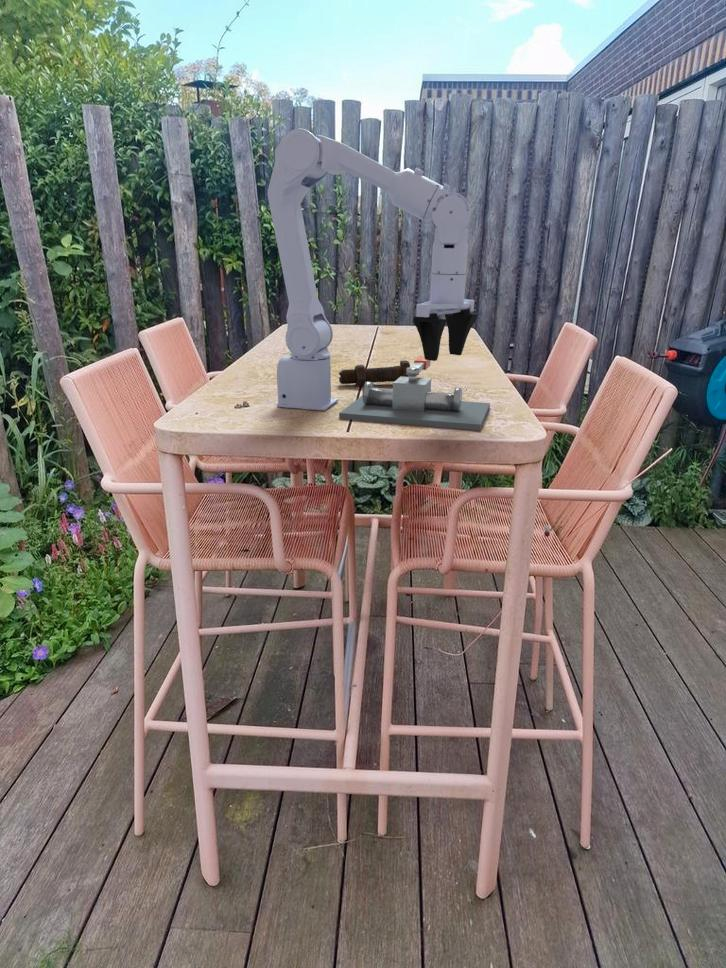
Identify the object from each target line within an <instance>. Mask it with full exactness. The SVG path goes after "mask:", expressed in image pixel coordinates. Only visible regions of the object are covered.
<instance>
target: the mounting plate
mask: <svg viewBox="0 0 726 968" xmlns="http://www.w3.org/2000/svg"><path fill="white" fill-rule="evenodd" d="M490 407H491V403H490V402H482V401H481V402H479V401H466V400H462V402H461V408H460V411H447V410H435V409H426V411H425V412H411V411H399V410H392V406H383V405H369V404H364V403H363V394H362V395H361V396H360V397H358V398H357V399H355V401H353V402H352V403H350V404H349V405H348V406H346V407H345V408H343V410H341V411H340V412H339V413H338V419H340V420H349V421H350V420H353V421H361V422H362V421H364V422H377V423H386V424H399V425H409V426H410V425H412V426H420V427H421V426H422V427H434V428H444V429H445V428H446V429H457V430H468V431H477V432H478V431H481V430H482V427H483V425H484V423H485V421H486V418H487V415H488V414H489V411H490V409H491V408H490Z"/></svg>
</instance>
